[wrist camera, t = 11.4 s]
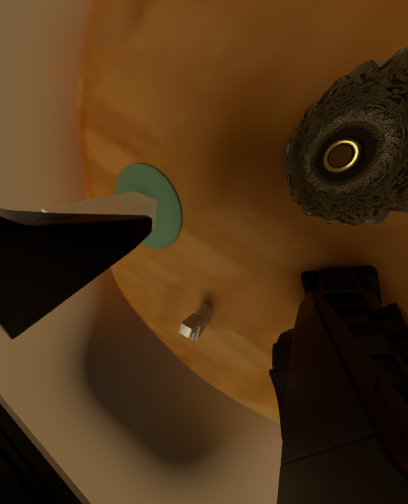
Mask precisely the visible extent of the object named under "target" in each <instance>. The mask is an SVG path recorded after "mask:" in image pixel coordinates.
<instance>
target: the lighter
mask: <svg viewBox="0 0 408 504" xmlns="http://www.w3.org/2000/svg"><path fill="white" fill-rule="evenodd" d="M211 310H212V307H211V306H209V305H207V304H205V303H203V304H202V306H201V307H200V309H199V310H198V311H197V313H196V314H195V313H193V314H191V315H190V316H189V317H188V318H187V319H185V320H184V321H183V322H182V323H181V326H180V329H179V333H181V334H183V335H184V336H186V337H188V338H190V339H192V340H194V339H195V340H198V339H199V337H200V335H201V334H202V332H203V330H204V329H205V327H206V325H207V323H208V322H209V318H210V314H211Z"/></svg>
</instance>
